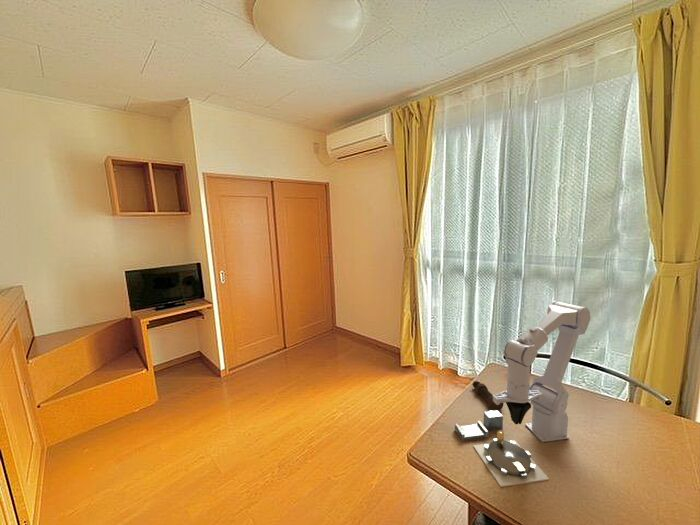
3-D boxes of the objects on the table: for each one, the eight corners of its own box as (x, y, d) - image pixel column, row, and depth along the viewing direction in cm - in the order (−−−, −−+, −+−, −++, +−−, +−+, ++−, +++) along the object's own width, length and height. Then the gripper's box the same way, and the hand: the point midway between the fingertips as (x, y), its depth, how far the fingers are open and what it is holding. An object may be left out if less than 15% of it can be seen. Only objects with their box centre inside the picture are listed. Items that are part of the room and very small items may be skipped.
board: (514, 441, 92) (514, 439, 92) (548, 479, 79) (549, 478, 78) (473, 446, 91) (473, 445, 91) (500, 487, 77) (500, 485, 77)
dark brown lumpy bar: (477, 391, 122) (498, 414, 107) (467, 387, 121) (487, 409, 106) (483, 380, 121) (506, 401, 107) (473, 375, 121) (495, 395, 106)
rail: (479, 427, 99) (479, 420, 99) (488, 438, 94) (488, 431, 94) (454, 430, 98) (454, 423, 98) (461, 441, 93) (462, 434, 93)
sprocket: (514, 440, 92) (515, 423, 91) (546, 476, 79) (547, 457, 78) (475, 445, 90) (475, 428, 90) (501, 483, 77) (502, 464, 77)
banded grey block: (497, 423, 101) (497, 409, 100) (502, 429, 98) (502, 415, 97) (483, 424, 100) (483, 411, 99) (488, 431, 97) (488, 417, 96)
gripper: (530, 371, 90) (528, 410, 92) (487, 376, 89) (486, 415, 91) (548, 384, 83) (545, 426, 85) (501, 389, 82) (500, 432, 84)
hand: (516, 421), depth 88 cm, fingers closed
